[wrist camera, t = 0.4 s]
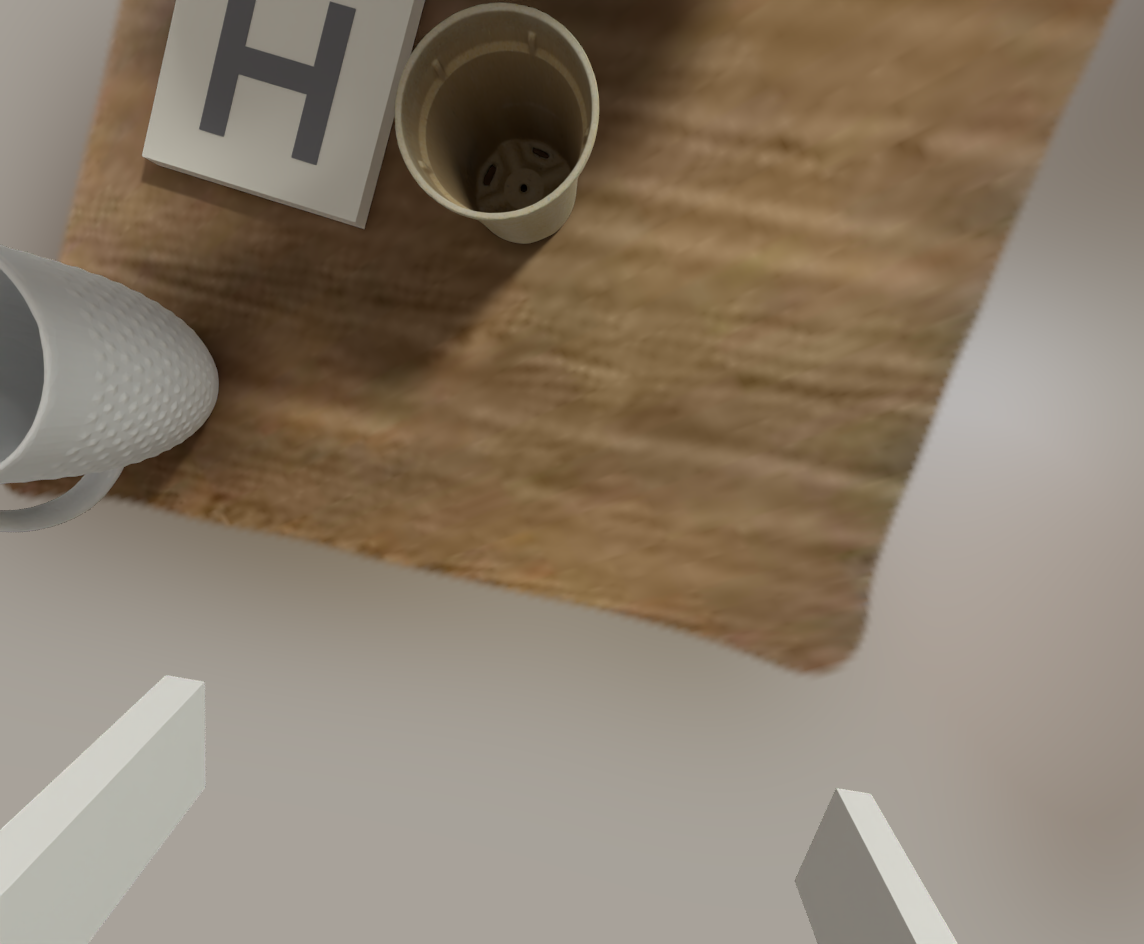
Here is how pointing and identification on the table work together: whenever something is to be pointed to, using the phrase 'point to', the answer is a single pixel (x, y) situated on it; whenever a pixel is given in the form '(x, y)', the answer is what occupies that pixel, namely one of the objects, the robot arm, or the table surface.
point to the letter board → (283, 97)
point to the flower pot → (499, 118)
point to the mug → (89, 382)
